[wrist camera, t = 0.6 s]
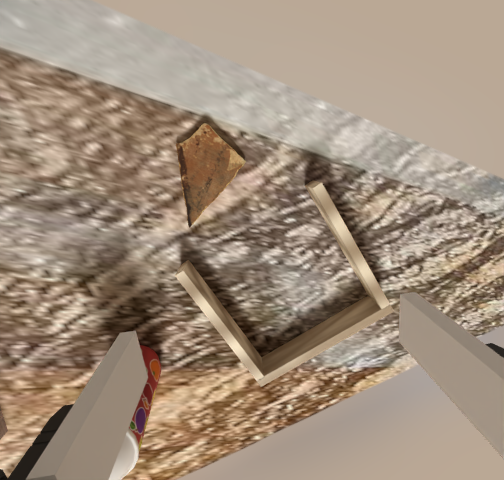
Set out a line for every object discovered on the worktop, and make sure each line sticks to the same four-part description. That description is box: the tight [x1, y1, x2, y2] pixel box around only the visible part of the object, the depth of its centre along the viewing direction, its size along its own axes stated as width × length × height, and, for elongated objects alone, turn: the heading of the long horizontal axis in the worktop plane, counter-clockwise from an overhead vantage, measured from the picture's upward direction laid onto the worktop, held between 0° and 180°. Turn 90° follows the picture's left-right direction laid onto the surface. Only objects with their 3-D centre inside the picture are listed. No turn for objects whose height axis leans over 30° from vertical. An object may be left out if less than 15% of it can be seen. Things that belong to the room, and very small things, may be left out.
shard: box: [176, 123, 246, 227], centre depth 35 cm, size 11×8×2 cm
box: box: [175, 180, 394, 387], centre depth 38 cm, size 20×20×4 cm
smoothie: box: [109, 345, 161, 480], centre depth 33 cm, size 8×8×20 cm
